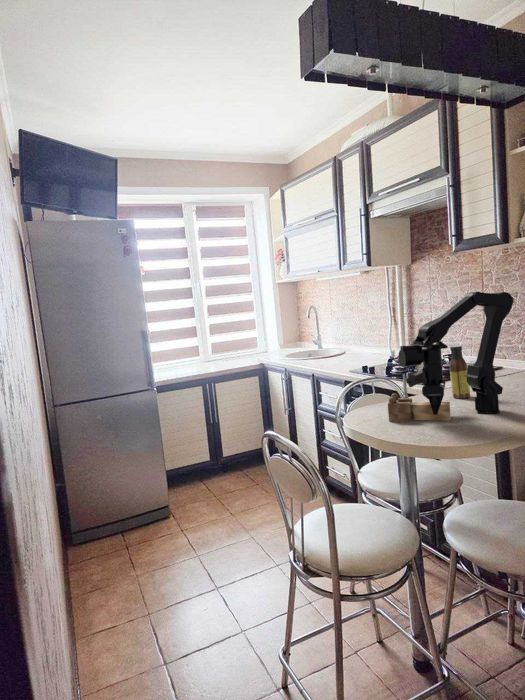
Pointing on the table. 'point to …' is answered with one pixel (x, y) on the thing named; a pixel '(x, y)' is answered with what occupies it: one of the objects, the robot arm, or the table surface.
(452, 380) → the sauce bottle
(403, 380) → the tow hook
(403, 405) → the arched block with knobs
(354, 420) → the table surface
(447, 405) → the bed rail
